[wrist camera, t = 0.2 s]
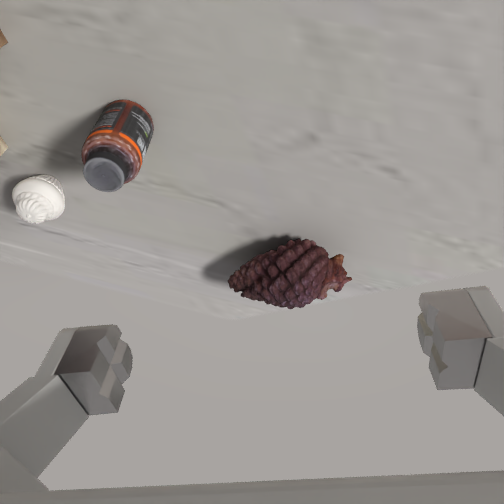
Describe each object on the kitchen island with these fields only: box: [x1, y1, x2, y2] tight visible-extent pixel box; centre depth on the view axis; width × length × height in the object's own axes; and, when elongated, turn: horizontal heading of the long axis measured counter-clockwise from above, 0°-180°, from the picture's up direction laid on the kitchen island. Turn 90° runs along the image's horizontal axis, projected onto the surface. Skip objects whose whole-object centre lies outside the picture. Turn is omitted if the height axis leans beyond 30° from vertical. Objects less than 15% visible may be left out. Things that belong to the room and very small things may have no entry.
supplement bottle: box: [82, 100, 154, 192], centre depth 44 cm, size 6×6×11 cm
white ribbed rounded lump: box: [12, 175, 65, 224], centre depth 52 cm, size 6×6×7 cm
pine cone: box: [228, 239, 352, 309], centre depth 58 cm, size 18×10×10 cm, turn 98°
